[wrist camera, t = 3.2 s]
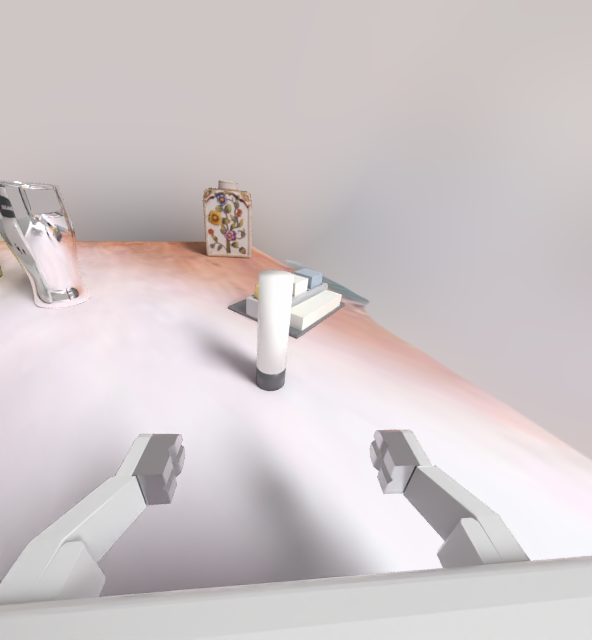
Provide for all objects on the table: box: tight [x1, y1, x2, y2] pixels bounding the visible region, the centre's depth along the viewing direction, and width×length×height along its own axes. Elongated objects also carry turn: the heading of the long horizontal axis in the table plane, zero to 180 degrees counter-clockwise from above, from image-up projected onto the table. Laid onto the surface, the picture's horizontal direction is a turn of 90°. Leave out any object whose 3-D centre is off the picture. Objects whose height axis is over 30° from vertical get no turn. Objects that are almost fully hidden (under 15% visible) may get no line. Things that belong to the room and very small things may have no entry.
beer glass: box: [0, 181, 91, 308], centre depth 33 cm, size 7×7×15 cm
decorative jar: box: [203, 180, 251, 258], centre depth 66 cm, size 12×12×18 cm
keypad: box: [228, 282, 345, 338], centre depth 40 cm, size 13×15×3 cm
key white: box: [292, 274, 308, 297], centre depth 39 cm, size 4×4×3 cm
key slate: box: [294, 268, 323, 289], centre depth 43 cm, size 4×4×3 cm
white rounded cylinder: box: [256, 270, 294, 391], centre depth 22 cm, size 3×3×11 cm
